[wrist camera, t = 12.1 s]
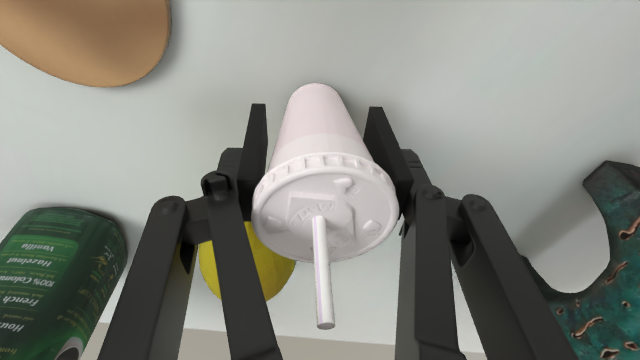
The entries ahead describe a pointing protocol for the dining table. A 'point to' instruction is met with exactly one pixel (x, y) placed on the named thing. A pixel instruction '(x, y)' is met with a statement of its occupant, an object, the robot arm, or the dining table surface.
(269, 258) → the lemon
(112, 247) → the coffee jar
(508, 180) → the dining table surface
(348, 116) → the white drink cup
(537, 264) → the dining table surface
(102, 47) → the cork coaster
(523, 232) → the dining table surface
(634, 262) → the ceramic cat
